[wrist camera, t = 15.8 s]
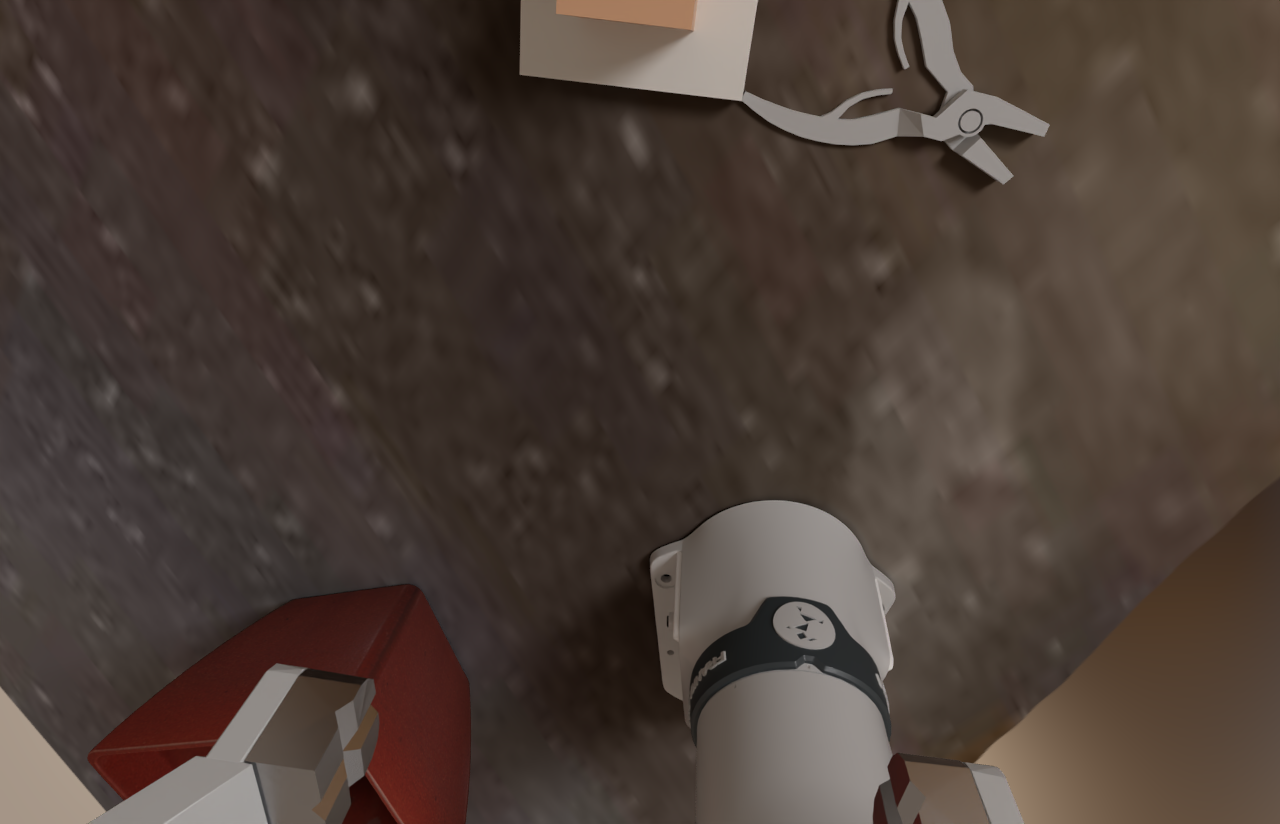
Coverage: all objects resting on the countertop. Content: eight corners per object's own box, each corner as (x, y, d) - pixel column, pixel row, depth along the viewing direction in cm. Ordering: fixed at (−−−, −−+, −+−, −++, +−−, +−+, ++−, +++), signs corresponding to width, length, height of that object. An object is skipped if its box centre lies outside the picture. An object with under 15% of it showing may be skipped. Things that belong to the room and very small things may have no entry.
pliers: (847, -96, 33) (1098, 65, 35) (841, -91, 34) (1083, 64, 36) (739, 105, 37) (967, 237, 40) (738, 103, 39) (958, 230, 41)
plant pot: (333, 725, 68) (228, 917, 53) (234, 576, 59) (76, 755, 44) (516, 706, 64) (458, 907, 49) (438, 544, 56) (339, 728, 41)
